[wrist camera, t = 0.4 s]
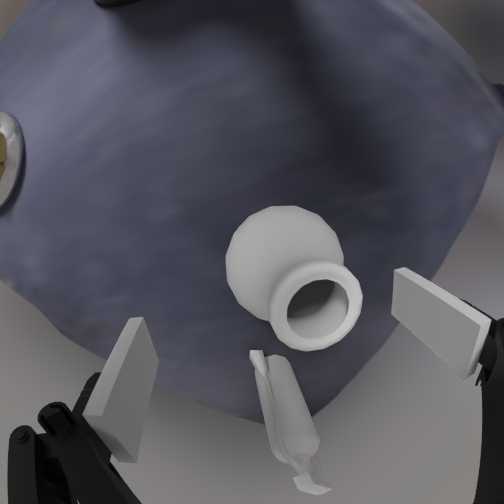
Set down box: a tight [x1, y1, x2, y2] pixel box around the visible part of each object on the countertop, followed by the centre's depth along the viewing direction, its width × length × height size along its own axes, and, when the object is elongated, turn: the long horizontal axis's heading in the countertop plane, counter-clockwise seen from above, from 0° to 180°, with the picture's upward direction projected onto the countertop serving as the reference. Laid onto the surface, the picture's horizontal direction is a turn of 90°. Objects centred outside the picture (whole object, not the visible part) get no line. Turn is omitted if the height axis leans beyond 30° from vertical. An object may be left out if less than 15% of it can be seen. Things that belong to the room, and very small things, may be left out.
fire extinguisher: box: [249, 350, 332, 495], centre depth 35 cm, size 7×12×25 cm, turn 32°
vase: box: [226, 206, 363, 351], centre depth 32 cm, size 14×14×20 cm
